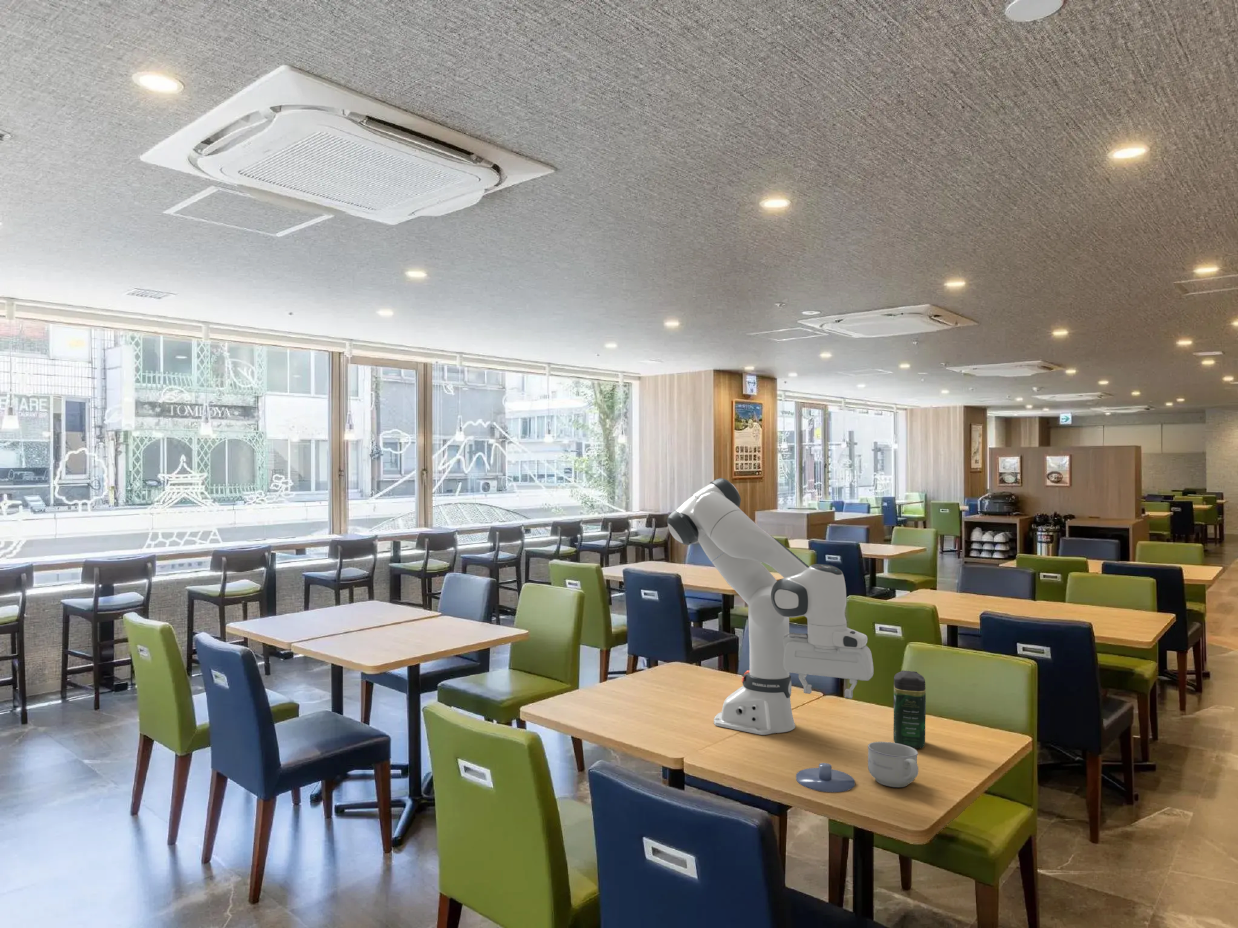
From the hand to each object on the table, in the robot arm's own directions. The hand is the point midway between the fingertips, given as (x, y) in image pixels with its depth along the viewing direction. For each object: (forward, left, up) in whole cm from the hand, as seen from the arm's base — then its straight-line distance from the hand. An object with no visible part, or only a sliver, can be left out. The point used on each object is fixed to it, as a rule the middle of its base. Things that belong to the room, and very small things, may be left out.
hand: (827, 695), depth 184 cm
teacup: (+15, +2, -19) cm, 24 cm away
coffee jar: (+16, +33, -19) cm, 42 cm away
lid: (0, -2, -20) cm, 20 cm away
